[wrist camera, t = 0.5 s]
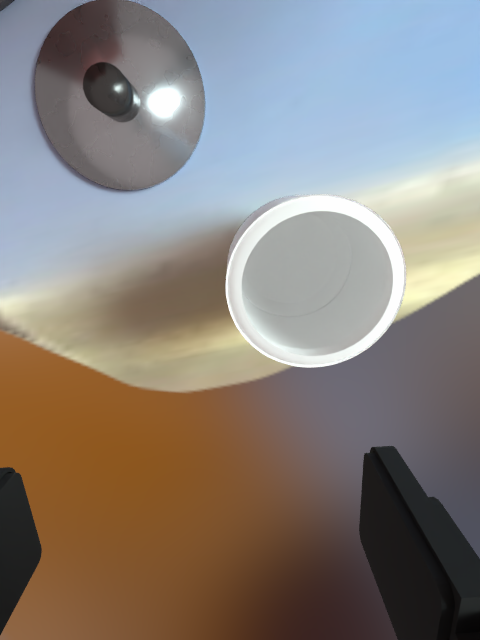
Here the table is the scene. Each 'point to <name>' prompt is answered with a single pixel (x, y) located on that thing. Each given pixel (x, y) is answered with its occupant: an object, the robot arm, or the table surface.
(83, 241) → the table surface
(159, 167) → the lid
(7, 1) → the plate
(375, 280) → the jar
